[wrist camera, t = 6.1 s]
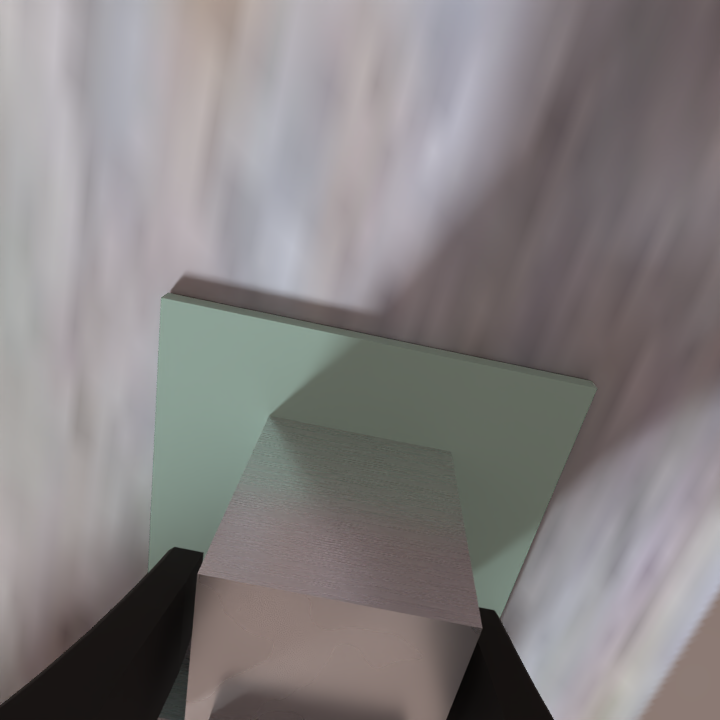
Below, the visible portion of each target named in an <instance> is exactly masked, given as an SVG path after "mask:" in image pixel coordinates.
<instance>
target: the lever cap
mask: <svg viewBox="0 0 720 720" xmlns="http://www.w3.org/2000/svg"><path fill="white" fill-rule="evenodd" d="M481 631H482V623H481V617H480V612H479V606H478V600H477V595H476V589H475V583H474V578H473V572H472V566H471V561H470V555H469V550H468V544H467V538H466V533H465V527H464V521H463V516H462V510H461V505H460V499H459V493H458V488H457V482H456V476H455V471H454V465H453V459H452V454H451V452H450V451H445V450H440V449H435V448H430V447H425V446H420V445H415V444H410V443H405V442H399V441H394V440H389V439H384V438H379V437H374V436H369V435H364V434H359V433H354V432H349V431H344V430H339V429H334V428H328V427H323V426H318V425H313V424H308V423H303V422H298V421H293V420H288V419H283V418H278V417H273V416H269V417H268V419H267V421H266V423H265V426H264V428H263V430H262V432H261V434H260V437H259V439H258V441H257V443H256V445H255V448H254V450H253V452H252V454H251V456H250V459H249V461H248V463H247V465H246V468H245V470H244V472H243V474H242V476H241V479H240V481H239V483H238V485H237V487H236V490H235V492H234V494H233V496H232V498H231V501H230V503H229V505H228V507H227V509H226V512H225V514H224V516H223V518H222V520H221V523H220V525H219V527H218V529H217V532H216V534H215V536H214V538H213V540H212V543H211V545H210V547H209V549H208V551H207V554H206V556H205V558H204V560H203V562H202V565H201V567H200V569H199V571H198V573H197V583H196V595H195V606H194V618H193V629H192V640H191V652H190V663H189V675H188V686H187V698H186V709H185V720H446V719H447V716H448V714H449V711H450V709H451V706H452V704H453V701H454V699H455V696H456V694H457V691H458V689H459V686H460V684H461V681H462V679H463V676H464V674H465V671H466V669H467V666H468V664H469V661H470V659H471V656H472V654H473V651H474V649H475V646H476V644H477V641H478V639H479V636H480V633H481Z"/></svg>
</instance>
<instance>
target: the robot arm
mask: <svg viewBox="0 0 720 720" xmlns="http://www.w3.org/2000/svg"><path fill="white" fill-rule="evenodd" d="M203 554H204V552H199V551H194V550H189V549H184V548H179V547H173V548H171V549H170V550H168V551H167V553H166V554H165V555H164V556H163V557H162V558H161V559H160V561H159V562H158V563H157V564H156V565H155V566H154V567H153V568H152V569H151V570H150V571H149V572H148V573H147V575H146V576H145V577H144V578H143V579H142V580H141V581H140V582H139V583H138V584H137V585H136V586H135V587H134V588H133V589H132V590H131V591H130V592H129V593H128V594H127V595H126V596H125V597H124V598H123V599H122V600H121V601H120V602H119V603H118V604H117V605H116V606H115V607H114V608H113V609H112V610H110V611H109V612H108V613H107V614H106V615H105V616H104V617H103V618H102V619H101V620H100V621H99V622H98V623H97V624H96V625H95V626H94V627H93V628H92V629H90V630H89V631H88V632H87V633H86V634H85V635H84V636H83V637H82V638H80V639H79V640H78V641H77V642H76V643H75V644H74V645H72V646H71V647H70V648H69V649H68V650H67V651H66V652H64V653H63V654H62V655H61V656H60V657H59V658H58V659H56V660H55V661H54V662H53V663H52V664H51V665H49V666H48V667H47V668H46V669H45V670H44V671H42V672H41V673H40V674H39V675H38V676H36V677H35V678H34V679H33V680H31V681H30V682H29V683H28V684H27V685H25V686H24V687H23V688H22V689H20V690H19V691H18V692H17V693H15V694H14V695H13V696H12V697H10V698H9V699H8V700H6V701H5V702H4V703H2V704H1V705H0V720H157V719H158V717H159V715H160V713H161V711H162V709H163V706H164V704H165V702H166V700H167V698H168V696H169V693H170V691H171V689H172V687H173V685H174V683H175V680H176V678H177V676H178V674H179V671H180V668H181V665H182V662H183V660H184V657H185V654H186V651H187V648H188V646H189V643H190V640H191V637H192V629H193V618H194V606H195V595H196V583H197V573H198V571H199V569H200V567H201V565H202V562H203ZM479 612H480V617H481V623H482V631H481V633H480V636H479V639H478V641H477V644H476V646H475V649H474V651H473V654H472V656H471V659H470V661H469V664H468V666H467V669H466V671H465V674H464V676H463V679H462V681H461V684H460V686H459V689H458V691H457V694H456V696H455V699H454V701H453V704H452V706H451V709H450V711H449V714H448V716H447V719H446V720H554V719H553V717H552V715H551V714H550V712H549V710H548V708H547V707H546V705H545V703H544V701H543V700H542V698H541V696H540V694H539V693H538V691H537V689H536V687H535V685H534V683H533V682H532V680H531V678H530V676H529V674H528V672H527V670H526V669H525V667H524V665H523V663H522V661H521V659H520V657H519V655H518V653H517V651H516V650H515V648H514V646H513V644H512V642H511V640H510V638H509V636H508V634H507V632H506V630H505V628H504V626H503V624H502V622H501V620H500V618H499V616H498V615H497V613H496V611H495V610H491V609H486V608H481V607H479Z"/></svg>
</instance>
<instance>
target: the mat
mask: <svg viewBox="0 0 720 720" xmlns="http://www.w3.org/2000/svg"><path fill="white" fill-rule="evenodd" d="M596 391H597V387H596V386H595V385H594V384H593V382H592V381H589V380H584V379H579V378H575V377H570V376H565V375H560V374H555V373H551V372H546V371H541V370H536V369H532V368H527V367H522V366H517V365H512V364H508V363H503V362H498V361H493V360H488V359H484V358H479V357H474V356H469V355H464V354H460V353H455V352H450V351H445V350H440V349H436V348H431V347H426V346H421V345H416V344H412V343H407V342H402V341H397V340H392V339H388V338H383V337H378V336H373V335H368V334H364V333H359V332H354V331H349V330H344V329H340V328H335V327H330V326H325V325H320V324H316V323H311V322H306V321H301V320H296V319H292V318H287V317H282V316H277V315H272V314H268V313H263V312H258V311H253V310H248V309H244V308H239V307H234V306H229V305H225V304H220V303H215V302H210V301H205V300H201V299H196V298H191V297H186V296H181V295H177V294H172V293H167V294H166V295H164V296H163V297H161V309H160V330H159V351H158V372H157V392H156V413H155V434H154V455H153V476H152V496H151V517H150V538H149V559H148V572H149V571H150V570H151V569H152V568H153V567H154V566H155V565H156V564H157V563H158V562H159V561H160V559H161V558H162V557H163V556H164V555H165V554H166V553H167V551H168V550H170V549H171V548H173V547H179V548H184V549H189V550H194V551H199V552H204V554H203V560H204V558H205V556H206V554H207V551H208V549H209V547H210V545H211V543H212V540H213V538H214V536H215V534H216V532H217V529H218V527H219V525H220V523H221V520H222V518H223V516H224V514H225V512H226V509H227V507H228V505H229V503H230V501H231V498H232V496H233V494H234V492H235V490H236V487H237V485H238V483H239V481H240V479H241V476H242V474H243V472H244V470H245V468H246V465H247V463H248V461H249V459H250V456H251V454H252V452H253V450H254V448H255V445H256V443H257V441H258V439H259V437H260V434H261V432H262V430H263V428H264V426H265V423H266V421H267V419H268V417H269V416H273V417H278V418H283V419H288V420H293V421H298V422H303V423H308V424H313V425H318V426H323V427H328V428H334V429H339V430H344V431H349V432H354V433H359V434H364V435H369V436H374V437H379V438H384V439H389V440H394V441H399V442H405V443H410V444H415V445H420V446H425V447H430V448H435V449H440V450H445V451H450V452H451V454H452V459H453V465H454V471H455V476H456V482H457V488H458V493H459V499H460V505H461V510H462V516H463V521H464V527H465V533H466V538H467V544H468V550H469V555H470V561H471V566H472V572H473V578H474V583H475V589H476V595H477V600H478V606H479V607H481V608H486V609H491V610H495V611H496V613H497V615H498V616H499V618H500V617H501V614H502V612H503V610H504V607H505V605H506V602H507V600H508V598H509V595H510V593H511V591H512V588H513V586H514V584H515V581H516V579H517V577H518V574H519V572H520V569H521V567H522V565H523V562H524V560H525V558H526V555H527V553H528V551H529V548H530V546H531V544H532V541H533V539H534V537H535V534H536V532H537V529H538V527H539V525H540V522H541V520H542V518H543V515H544V513H545V511H546V508H547V506H548V504H549V501H550V499H551V496H552V494H553V492H554V489H555V487H556V485H557V482H558V480H559V478H560V475H561V473H562V471H563V468H564V466H565V464H566V461H567V459H568V456H569V454H570V452H571V449H572V447H573V445H574V442H575V440H576V438H577V435H578V433H579V431H580V428H581V426H582V424H583V421H584V419H585V416H586V414H587V412H588V409H589V407H590V405H591V402H592V400H593V398H594V395H595V393H596Z"/></svg>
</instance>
